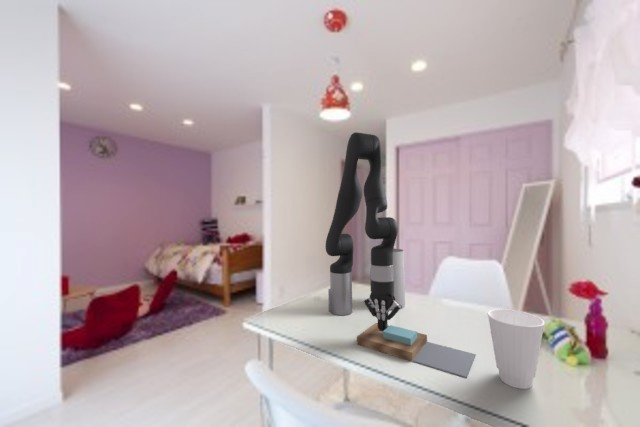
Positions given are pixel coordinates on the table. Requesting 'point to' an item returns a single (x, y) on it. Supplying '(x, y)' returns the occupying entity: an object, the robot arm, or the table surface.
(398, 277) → the cylinder vase
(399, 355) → the block
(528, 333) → the cup
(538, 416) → the table surface
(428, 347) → the mat
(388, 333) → the tile
